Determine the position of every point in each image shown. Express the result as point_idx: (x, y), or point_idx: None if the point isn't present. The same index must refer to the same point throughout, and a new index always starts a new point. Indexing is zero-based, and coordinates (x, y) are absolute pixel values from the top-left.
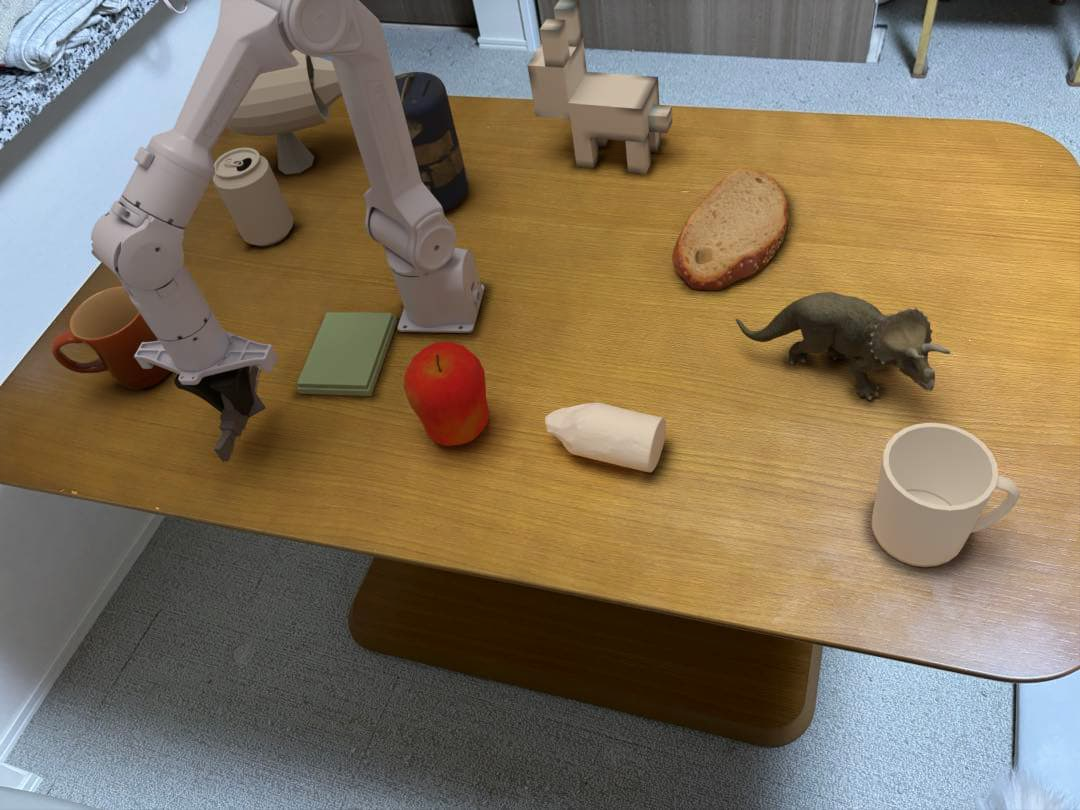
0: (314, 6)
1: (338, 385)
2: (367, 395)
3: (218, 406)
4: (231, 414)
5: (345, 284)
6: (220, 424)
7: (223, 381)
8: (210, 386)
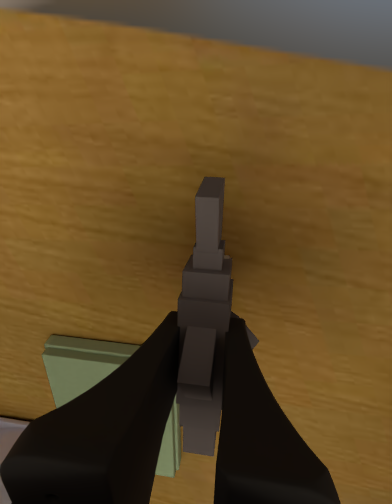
0: None
1: (91, 359)
2: (57, 336)
3: (228, 344)
4: (194, 315)
5: (181, 500)
6: (226, 286)
7: (45, 476)
8: (104, 463)
